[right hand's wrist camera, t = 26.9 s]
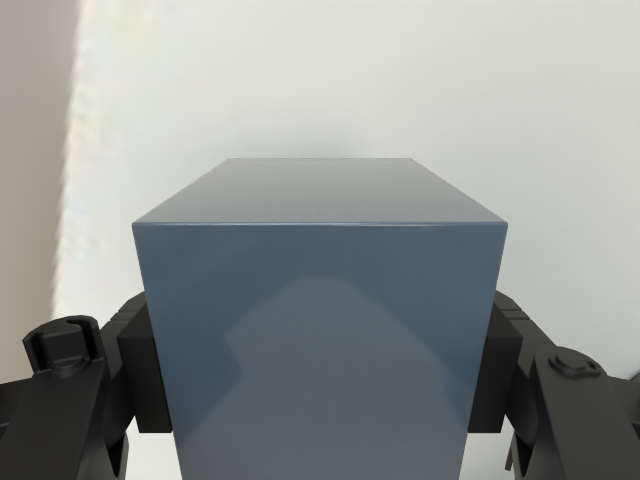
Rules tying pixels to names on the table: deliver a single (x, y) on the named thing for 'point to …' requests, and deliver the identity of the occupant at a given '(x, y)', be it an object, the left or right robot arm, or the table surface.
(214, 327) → the grey cube
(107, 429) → the right robot arm
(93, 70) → the table surface
